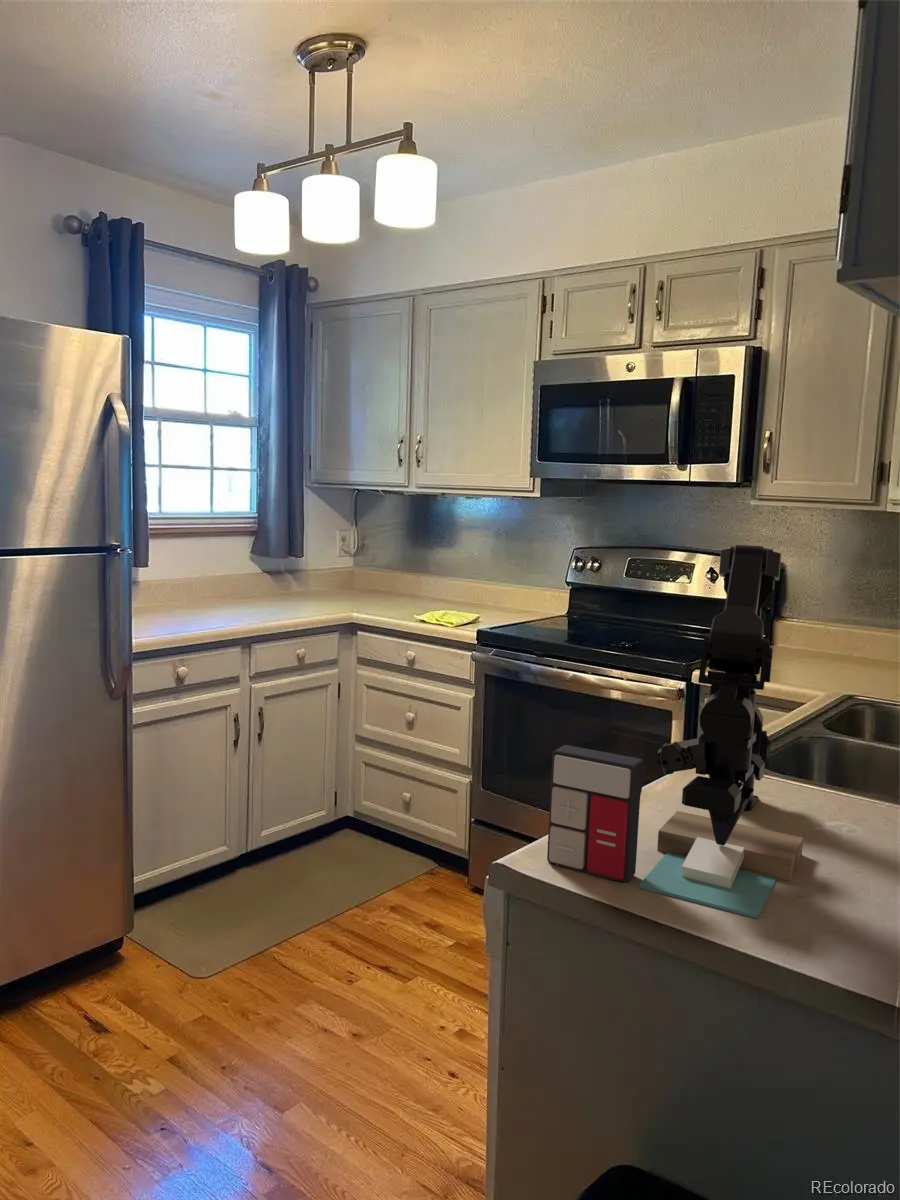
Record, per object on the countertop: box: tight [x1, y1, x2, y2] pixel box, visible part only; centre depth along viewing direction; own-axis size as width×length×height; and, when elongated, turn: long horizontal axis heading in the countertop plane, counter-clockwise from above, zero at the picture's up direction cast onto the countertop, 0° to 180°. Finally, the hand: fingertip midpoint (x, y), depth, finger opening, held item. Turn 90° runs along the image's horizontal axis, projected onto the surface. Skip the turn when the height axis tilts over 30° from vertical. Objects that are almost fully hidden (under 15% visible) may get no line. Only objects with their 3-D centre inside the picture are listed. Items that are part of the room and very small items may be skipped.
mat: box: [638, 852, 778, 919], centre depth 111 cm, size 12×14×1 cm
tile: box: [682, 837, 744, 888], centre depth 113 cm, size 7×6×2 cm
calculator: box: [546, 744, 645, 883], centre depth 113 cm, size 11×4×15 cm, turn 59°
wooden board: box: [656, 810, 804, 882], centre depth 120 cm, size 9×17×3 cm, turn 60°
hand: (720, 844), depth 114 cm, fingers closed
